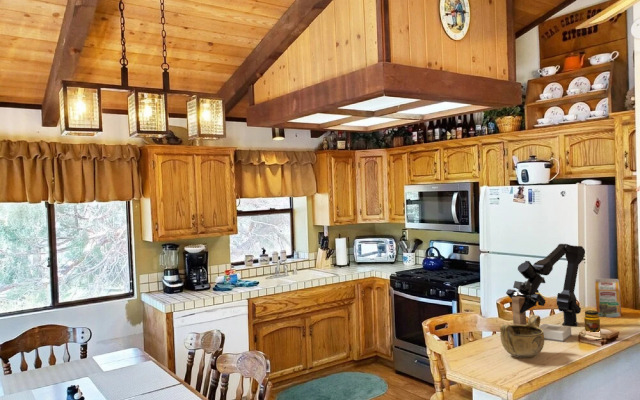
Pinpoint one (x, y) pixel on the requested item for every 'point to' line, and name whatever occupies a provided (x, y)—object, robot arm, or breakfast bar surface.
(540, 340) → the ceramic bowl
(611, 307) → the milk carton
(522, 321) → the peg
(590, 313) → the condiment
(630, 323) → the breakfast bar surface
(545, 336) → the socket block
